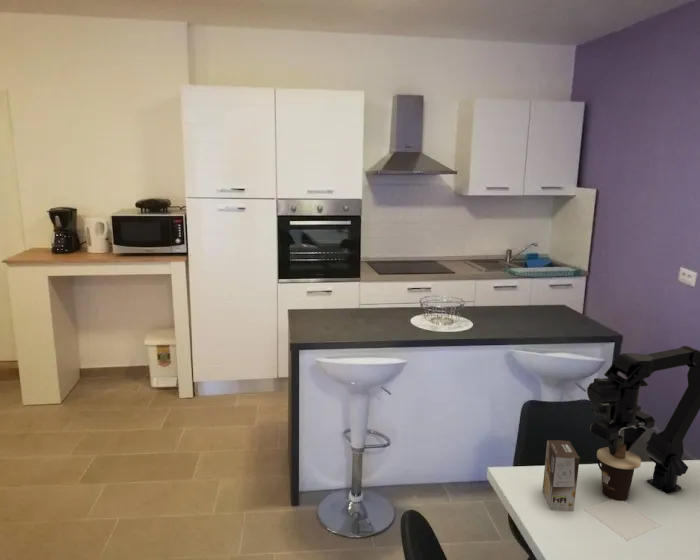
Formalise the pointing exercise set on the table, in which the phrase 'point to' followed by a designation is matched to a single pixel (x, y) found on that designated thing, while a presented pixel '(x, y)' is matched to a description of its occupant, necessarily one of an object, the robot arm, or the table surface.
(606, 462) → the lid
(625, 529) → the mat
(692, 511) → the table surface
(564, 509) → the coffee box
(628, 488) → the coffee mug
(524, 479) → the table surface
